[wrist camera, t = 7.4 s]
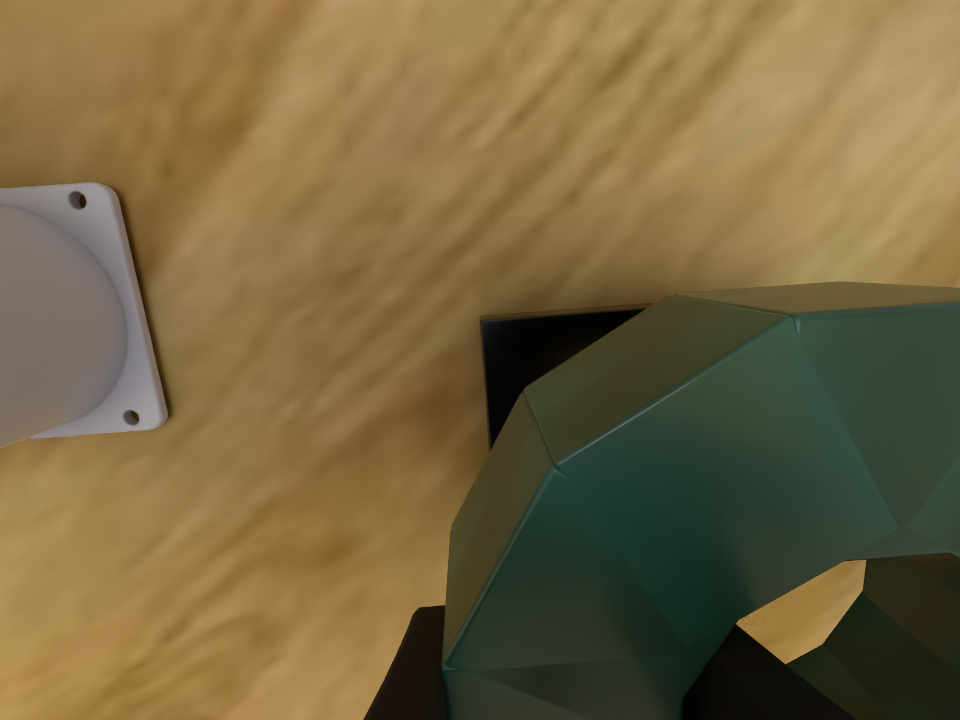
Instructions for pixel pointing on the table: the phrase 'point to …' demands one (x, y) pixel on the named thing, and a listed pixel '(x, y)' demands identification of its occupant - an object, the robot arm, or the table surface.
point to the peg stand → (537, 349)
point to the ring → (718, 507)
